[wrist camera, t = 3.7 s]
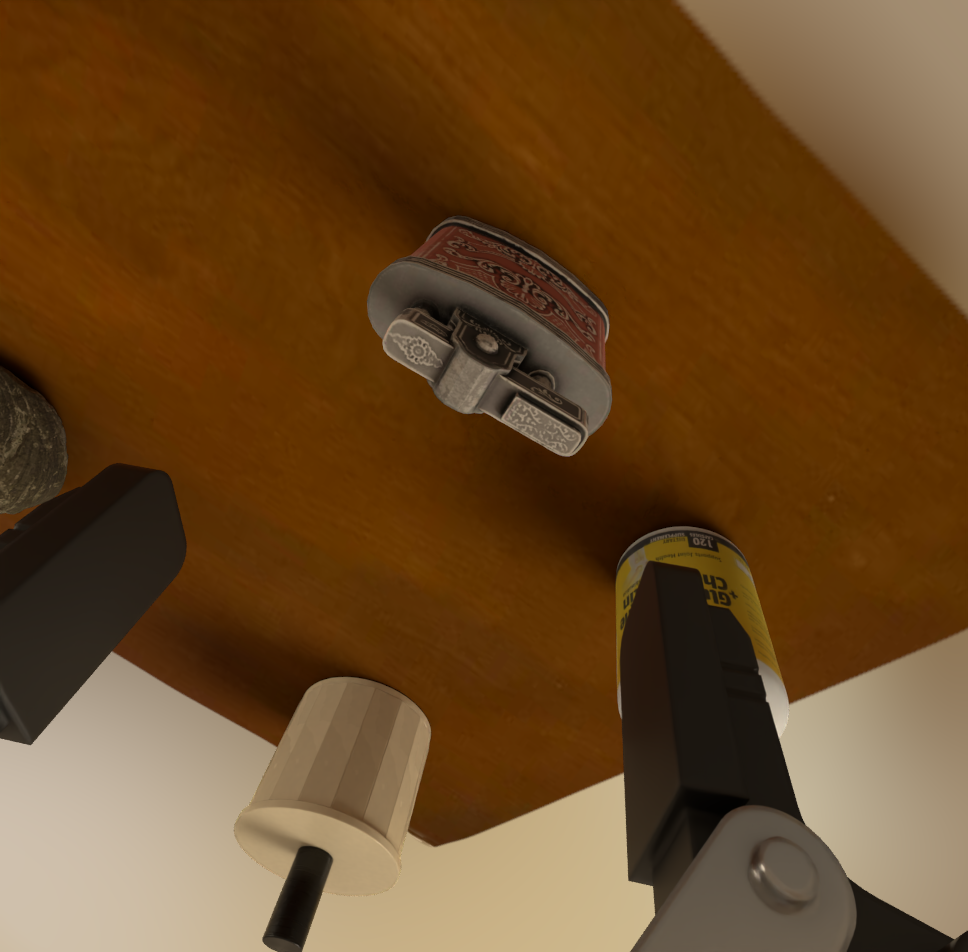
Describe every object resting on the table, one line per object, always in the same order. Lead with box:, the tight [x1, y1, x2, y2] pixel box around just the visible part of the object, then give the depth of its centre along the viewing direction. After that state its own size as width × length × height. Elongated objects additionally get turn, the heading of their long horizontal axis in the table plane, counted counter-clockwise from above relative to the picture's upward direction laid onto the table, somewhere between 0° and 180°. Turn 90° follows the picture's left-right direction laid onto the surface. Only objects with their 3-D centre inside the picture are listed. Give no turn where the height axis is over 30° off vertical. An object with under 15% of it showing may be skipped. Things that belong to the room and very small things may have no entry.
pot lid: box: [234, 799, 401, 952], centre depth 33 cm, size 10×10×6 cm
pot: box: [249, 677, 431, 857], centre depth 39 cm, size 10×10×8 cm
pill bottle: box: [616, 526, 789, 738], centre depth 25 cm, size 6×6×12 cm
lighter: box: [367, 216, 612, 456], centre depth 20 cm, size 8×3×10 cm, turn 61°
